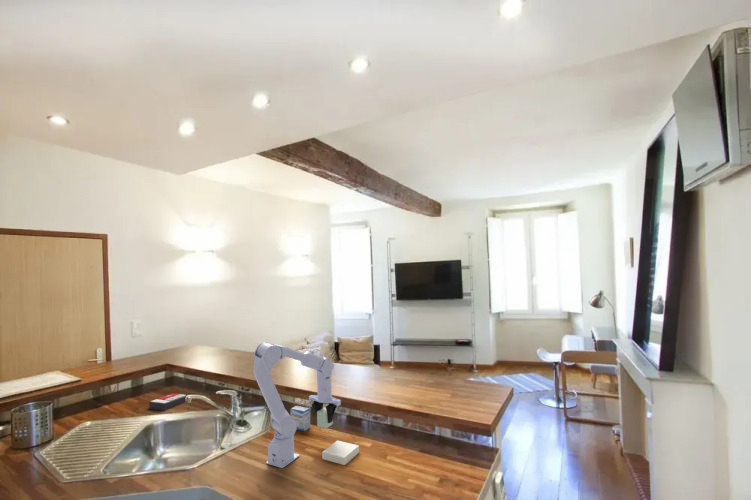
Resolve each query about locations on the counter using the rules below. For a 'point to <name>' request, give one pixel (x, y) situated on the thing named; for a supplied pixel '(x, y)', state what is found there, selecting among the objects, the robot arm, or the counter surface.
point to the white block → (340, 452)
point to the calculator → (167, 402)
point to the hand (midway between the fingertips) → (325, 421)
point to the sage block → (323, 418)
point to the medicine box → (301, 417)
